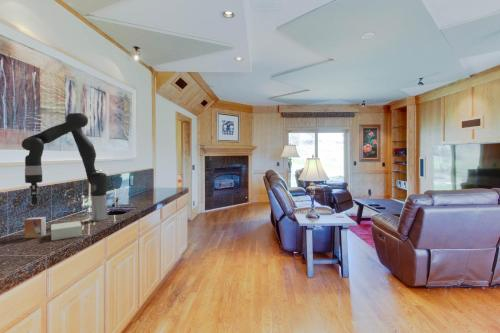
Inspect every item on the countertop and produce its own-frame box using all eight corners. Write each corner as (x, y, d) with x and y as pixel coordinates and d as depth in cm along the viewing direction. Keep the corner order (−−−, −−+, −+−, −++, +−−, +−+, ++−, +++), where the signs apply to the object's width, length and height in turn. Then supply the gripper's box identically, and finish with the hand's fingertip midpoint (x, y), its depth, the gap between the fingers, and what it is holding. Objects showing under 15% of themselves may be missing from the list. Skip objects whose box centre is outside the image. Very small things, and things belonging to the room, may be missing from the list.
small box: (24, 238, 148) (23, 219, 148) (29, 235, 154) (29, 217, 153) (41, 237, 150) (41, 218, 150) (46, 234, 156) (45, 216, 155)
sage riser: (80, 230, 165) (79, 221, 165) (82, 236, 153) (81, 225, 153) (51, 234, 157) (51, 224, 156) (51, 241, 145) (51, 229, 145)
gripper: (42, 174, 147) (43, 204, 148) (42, 173, 159) (43, 200, 159) (24, 174, 143) (25, 205, 143) (25, 173, 154) (26, 202, 155)
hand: (34, 203), depth 151 cm, fingers open, 8 cm apart
